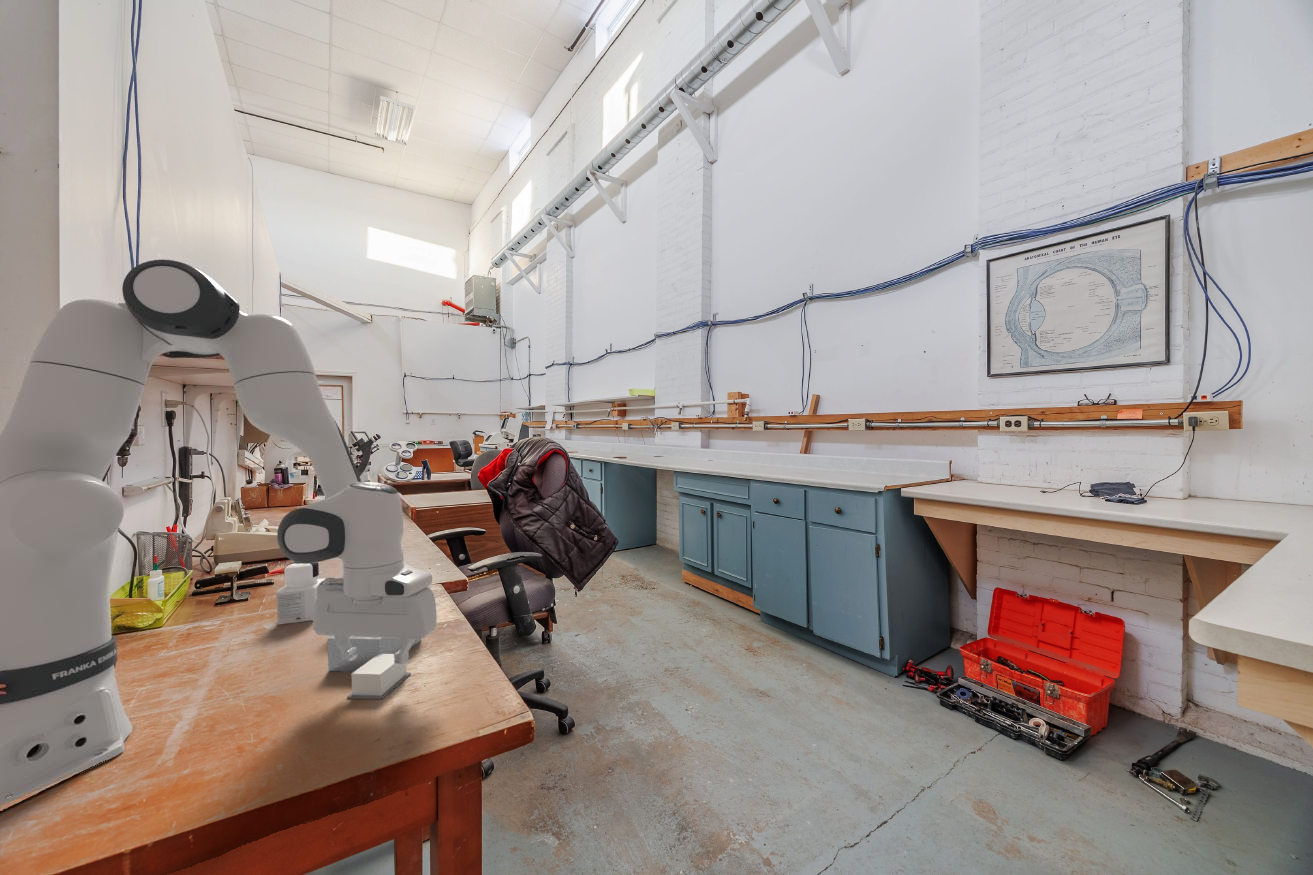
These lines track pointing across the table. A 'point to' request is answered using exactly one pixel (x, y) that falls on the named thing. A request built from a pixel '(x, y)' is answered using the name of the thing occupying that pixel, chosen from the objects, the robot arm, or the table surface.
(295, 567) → the container
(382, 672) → the cream white box
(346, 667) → the box
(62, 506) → the robot arm
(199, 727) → the table surface
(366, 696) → the mat
